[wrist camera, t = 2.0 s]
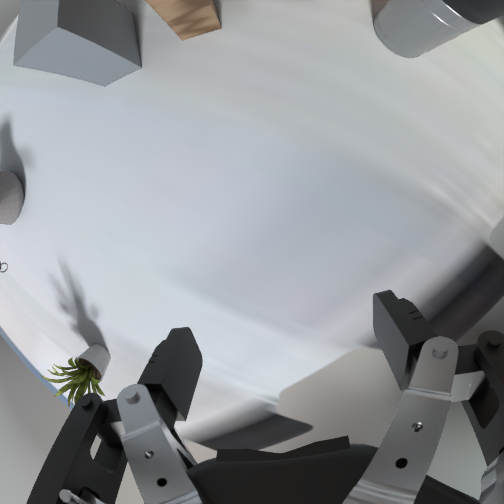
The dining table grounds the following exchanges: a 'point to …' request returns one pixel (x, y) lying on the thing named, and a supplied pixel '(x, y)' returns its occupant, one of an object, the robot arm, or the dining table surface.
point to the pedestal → (77, 39)
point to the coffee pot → (10, 199)
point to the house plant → (84, 372)
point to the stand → (187, 16)
